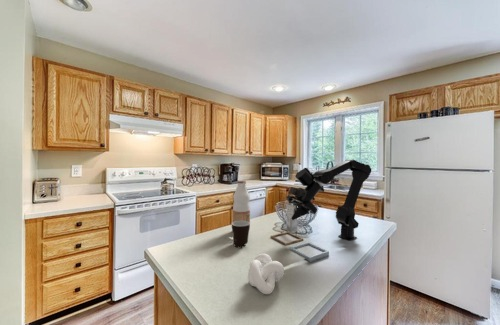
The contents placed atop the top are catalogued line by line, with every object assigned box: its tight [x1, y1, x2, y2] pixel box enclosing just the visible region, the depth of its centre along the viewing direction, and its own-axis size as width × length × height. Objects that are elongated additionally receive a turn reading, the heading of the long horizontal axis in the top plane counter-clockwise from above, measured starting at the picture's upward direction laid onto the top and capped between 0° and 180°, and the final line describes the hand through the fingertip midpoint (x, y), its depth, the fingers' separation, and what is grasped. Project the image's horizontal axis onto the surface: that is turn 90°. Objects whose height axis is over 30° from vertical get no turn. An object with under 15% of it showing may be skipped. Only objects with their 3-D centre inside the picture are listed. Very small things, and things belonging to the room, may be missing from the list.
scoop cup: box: [285, 202, 298, 233], centre depth 100 cm, size 5×5×12 cm
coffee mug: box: [230, 221, 251, 248], centre depth 103 cm, size 12×9×10 cm
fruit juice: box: [232, 179, 251, 231], centre depth 119 cm, size 9×9×28 cm
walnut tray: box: [270, 231, 304, 246], centre depth 106 cm, size 11×11×2 cm
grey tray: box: [289, 241, 330, 264], centre depth 92 cm, size 11×11×2 cm
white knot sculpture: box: [247, 253, 285, 295], centre depth 69 cm, size 11×12×9 cm
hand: (289, 217), depth 100 cm, fingers closed on scoop cup, 5 cm apart
